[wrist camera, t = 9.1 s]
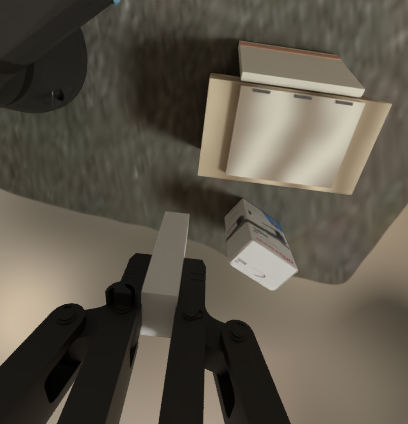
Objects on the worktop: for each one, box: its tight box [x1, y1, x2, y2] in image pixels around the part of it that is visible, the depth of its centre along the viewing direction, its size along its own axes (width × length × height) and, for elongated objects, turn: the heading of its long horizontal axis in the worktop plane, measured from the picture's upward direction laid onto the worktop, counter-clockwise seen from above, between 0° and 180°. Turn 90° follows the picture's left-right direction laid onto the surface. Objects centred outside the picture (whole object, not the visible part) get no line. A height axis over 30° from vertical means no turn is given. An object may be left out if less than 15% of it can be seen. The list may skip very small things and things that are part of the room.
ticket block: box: [198, 73, 392, 195], centre depth 32 cm, size 18×10×11 cm, turn 83°
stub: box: [238, 41, 365, 98], centre depth 29 cm, size 12×10×1 cm
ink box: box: [225, 198, 298, 290], centre depth 40 cm, size 8×5×12 cm, turn 54°
